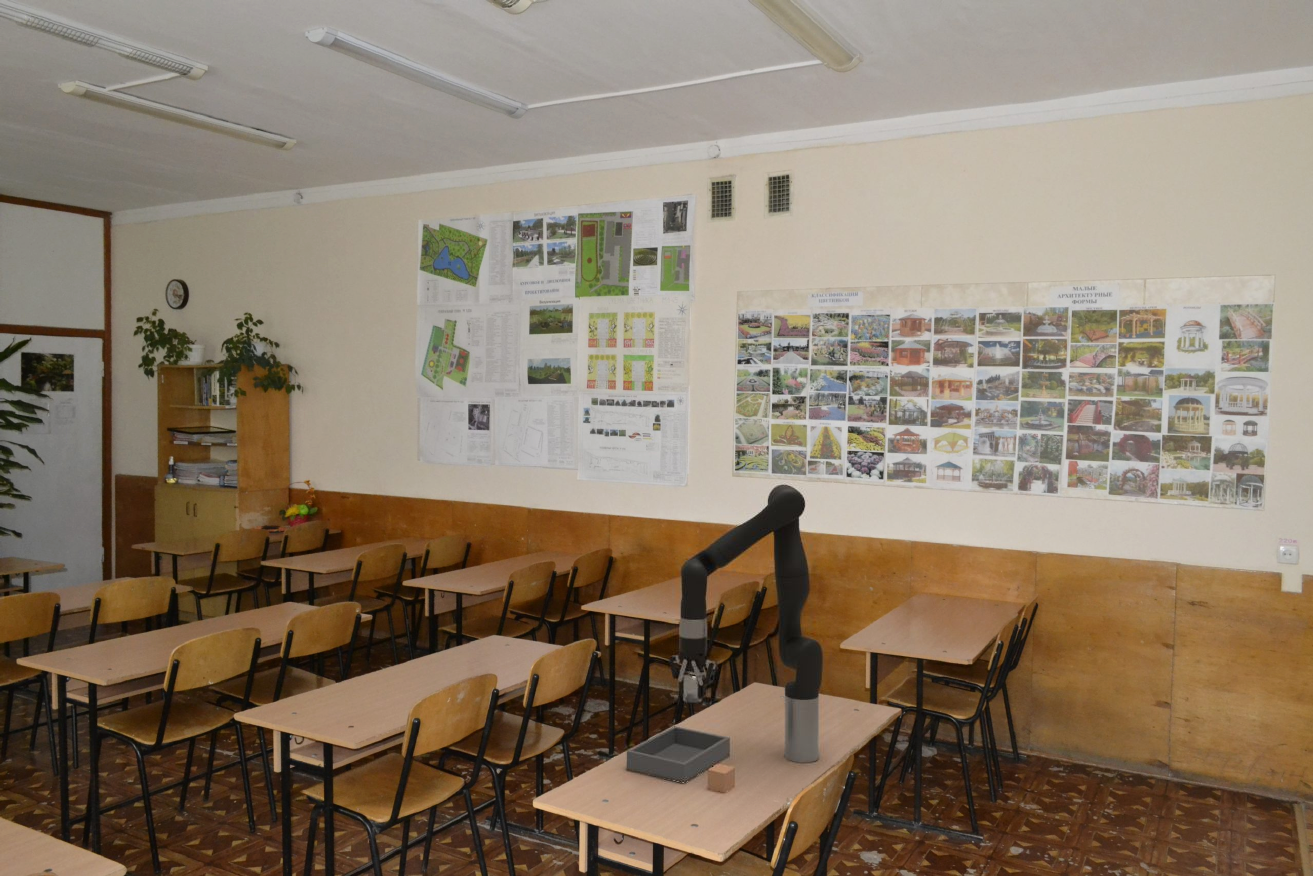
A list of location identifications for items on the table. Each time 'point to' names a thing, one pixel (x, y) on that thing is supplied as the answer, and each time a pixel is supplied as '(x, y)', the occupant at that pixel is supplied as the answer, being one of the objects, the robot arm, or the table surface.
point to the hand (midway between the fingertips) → (692, 696)
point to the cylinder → (691, 688)
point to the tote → (678, 754)
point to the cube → (721, 778)
